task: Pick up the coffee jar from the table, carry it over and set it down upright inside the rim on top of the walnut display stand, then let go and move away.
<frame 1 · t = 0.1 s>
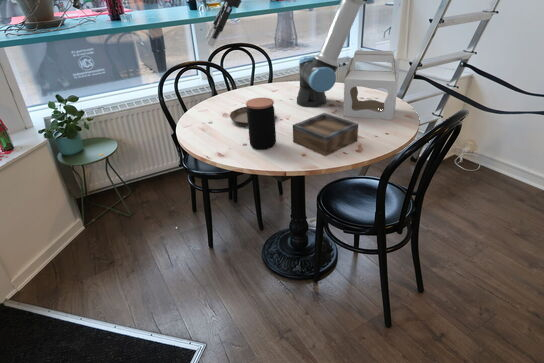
hand: (209, 42, 156), 36 cm above the table, tool tilted 35°, fingers open, 13 cm apart
plant saucer: (252, 120, 177), on the table
coffee jar: (263, 145, 151), on the table
display stand: (324, 141, 150), on the table
gable box: (369, 113, 175), on the table
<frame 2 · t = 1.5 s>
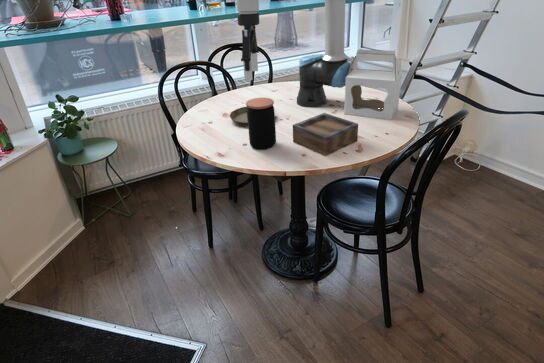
hand: (251, 75, 139), 28 cm above the table, tool pointing down, fingers open, 13 cm apart
gable box: (371, 112, 175), on the table, touching arm
everything else where it was.
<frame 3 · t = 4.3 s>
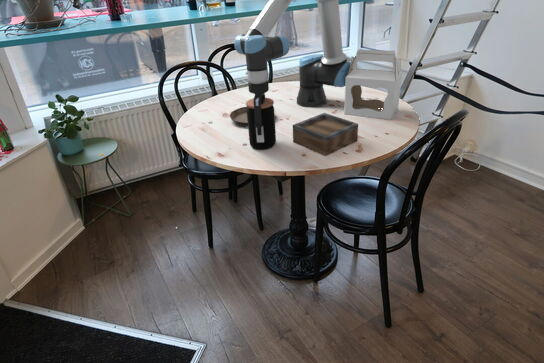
hand: (262, 135, 149), 4 cm above the table, tool pointing down, fingers closed on coffee jar, 11 cm apart
coffee jar: (263, 145, 151), on the table, touching gripper
gable box: (371, 112, 175), on the table
everything else where it was.
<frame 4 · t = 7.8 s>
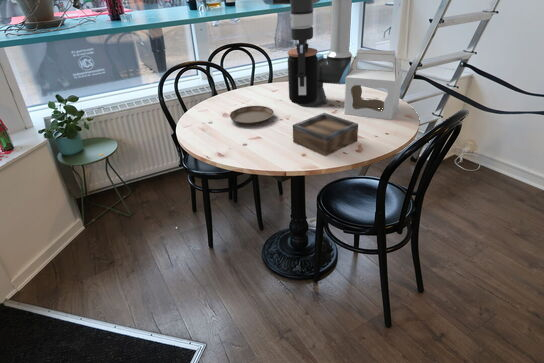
hand: (303, 89, 140), 22 cm above the table, tool pointing down, fingers closed on coffee jar, 11 cm apart
coffee jar: (303, 100, 142), point 18 cm above the table, touching gripper
everything else where it was.
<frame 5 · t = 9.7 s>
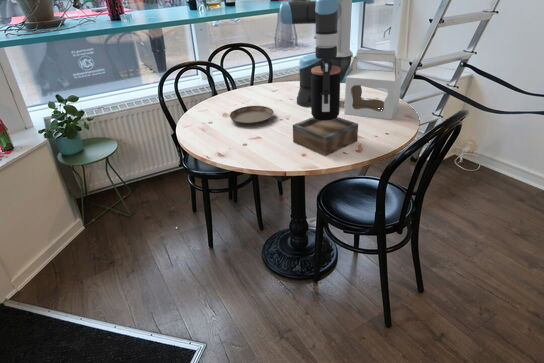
hand: (325, 106, 143), 15 cm above the table, tool pointing down, fingers closed on coffee jar, 11 cm apart
coffee jar: (325, 116, 145), point 11 cm above the table, touching gripper
everything else where it was.
when the fingers open (11 cm above the table, at t = 11.4 s): coffee jar drops 1 cm, resting on display stand.
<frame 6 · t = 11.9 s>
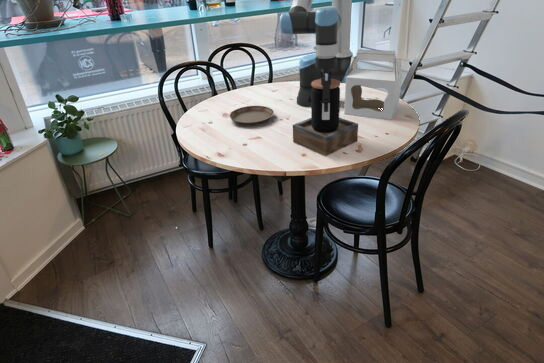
hand: (325, 112, 144), 12 cm above the table, tool pointing down, fingers open, 13 cm apart
coffee jar: (325, 128, 147), point 6 cm above the table, touching display stand
everything else where it was.
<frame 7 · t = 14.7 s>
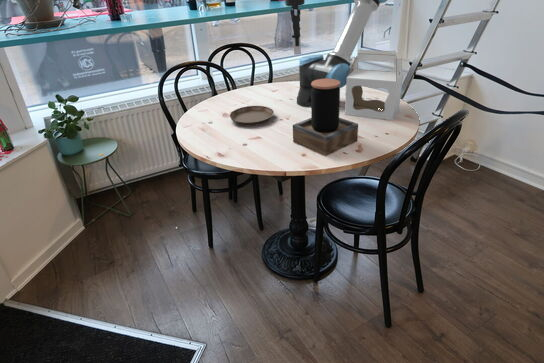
hand: (297, 50, 156), 31 cm above the table, tool pointing down, fingers open, 13 cm apart
nothing on the table moved.
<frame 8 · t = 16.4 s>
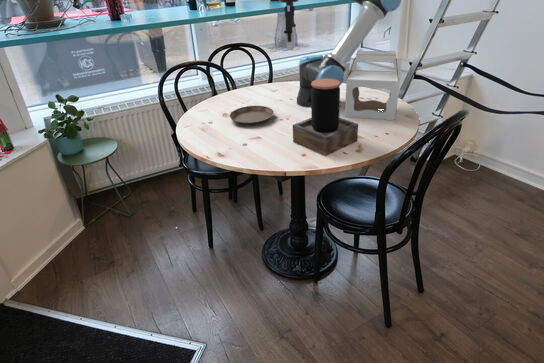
hand: (290, 46, 160), 32 cm above the table, tool pointing down, fingers open, 13 cm apart
gable box: (371, 113, 174), on the table
everything else where it was.
at the end: coffee jar 0.0 cm off-centre on the display stand, point 5.8 cm above the display stand's base; coffee jar tilted 0°; the gripper is holding nothing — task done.
